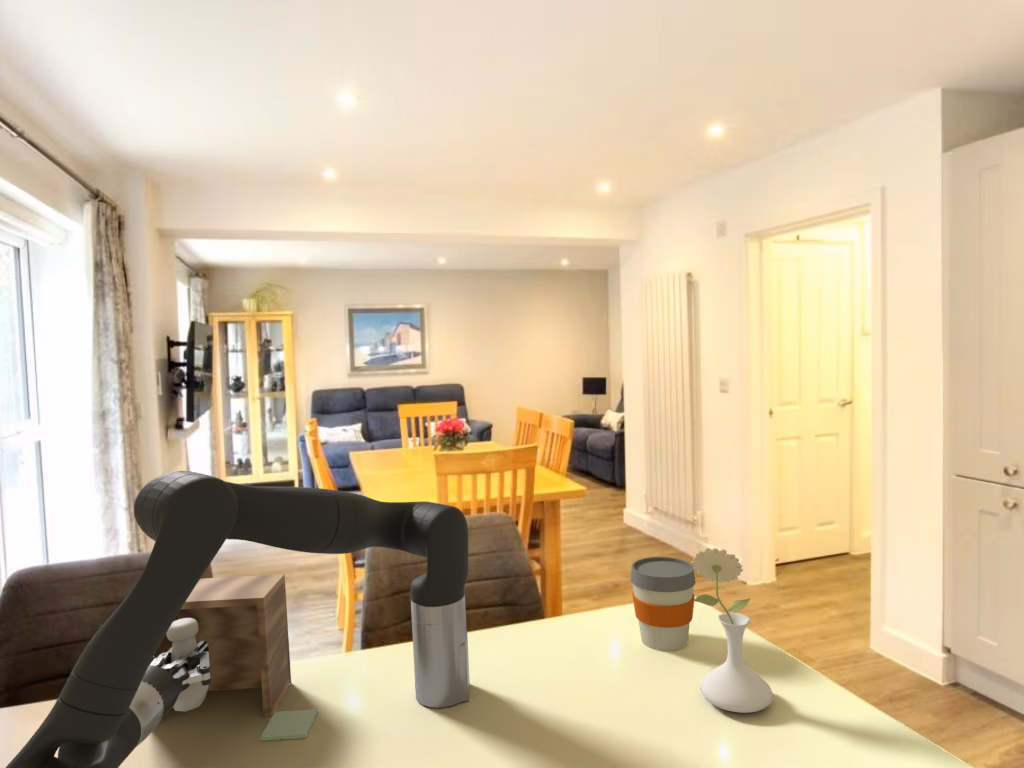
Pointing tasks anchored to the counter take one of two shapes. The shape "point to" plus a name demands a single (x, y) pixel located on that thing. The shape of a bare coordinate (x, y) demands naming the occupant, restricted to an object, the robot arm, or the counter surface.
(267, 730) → the mat
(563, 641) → the counter surface
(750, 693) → the flower in vase
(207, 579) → the cubby
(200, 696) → the salt shaker
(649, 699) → the counter surface
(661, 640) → the reusable coffee cup
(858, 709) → the counter surface
